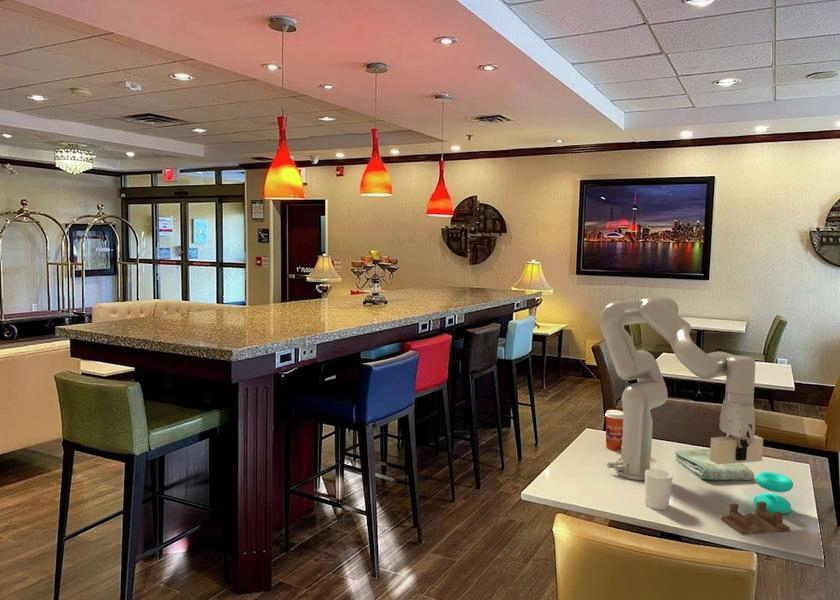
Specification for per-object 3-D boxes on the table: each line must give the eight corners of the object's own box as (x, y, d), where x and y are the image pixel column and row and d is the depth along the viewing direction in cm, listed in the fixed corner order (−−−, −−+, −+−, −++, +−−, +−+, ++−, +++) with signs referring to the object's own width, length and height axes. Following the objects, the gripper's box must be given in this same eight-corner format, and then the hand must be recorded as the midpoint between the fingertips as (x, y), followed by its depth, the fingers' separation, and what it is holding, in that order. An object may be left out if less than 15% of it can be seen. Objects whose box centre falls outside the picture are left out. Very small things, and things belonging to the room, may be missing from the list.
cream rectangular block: (717, 464, 186) (718, 441, 186) (709, 460, 190) (710, 437, 189) (761, 461, 189) (763, 438, 189) (753, 457, 193) (754, 434, 192)
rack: (741, 534, 174) (743, 517, 174) (720, 519, 183) (722, 503, 182) (789, 530, 177) (791, 513, 176) (766, 516, 186) (768, 500, 185)
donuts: (793, 486, 183) (755, 478, 188) (790, 519, 185) (752, 510, 190) (793, 475, 192) (756, 468, 197) (790, 506, 193) (753, 498, 198)
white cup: (667, 513, 187) (669, 480, 185) (640, 506, 191) (642, 474, 190) (672, 503, 193) (674, 472, 192) (646, 497, 197) (648, 466, 196)
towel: (718, 459, 233) (719, 446, 233) (754, 482, 212) (756, 467, 212) (671, 460, 231) (672, 446, 231) (703, 483, 210) (704, 468, 210)
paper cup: (604, 450, 239) (606, 414, 237) (602, 443, 246) (604, 408, 245) (625, 452, 237) (628, 416, 236) (622, 445, 245) (625, 410, 243)
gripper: (710, 391, 195) (707, 449, 197) (747, 405, 179) (744, 468, 180) (731, 390, 196) (728, 448, 198) (770, 404, 180) (767, 466, 182)
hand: (736, 457), depth 189 cm, fingers closed on cream rectangular block, 3 cm apart
